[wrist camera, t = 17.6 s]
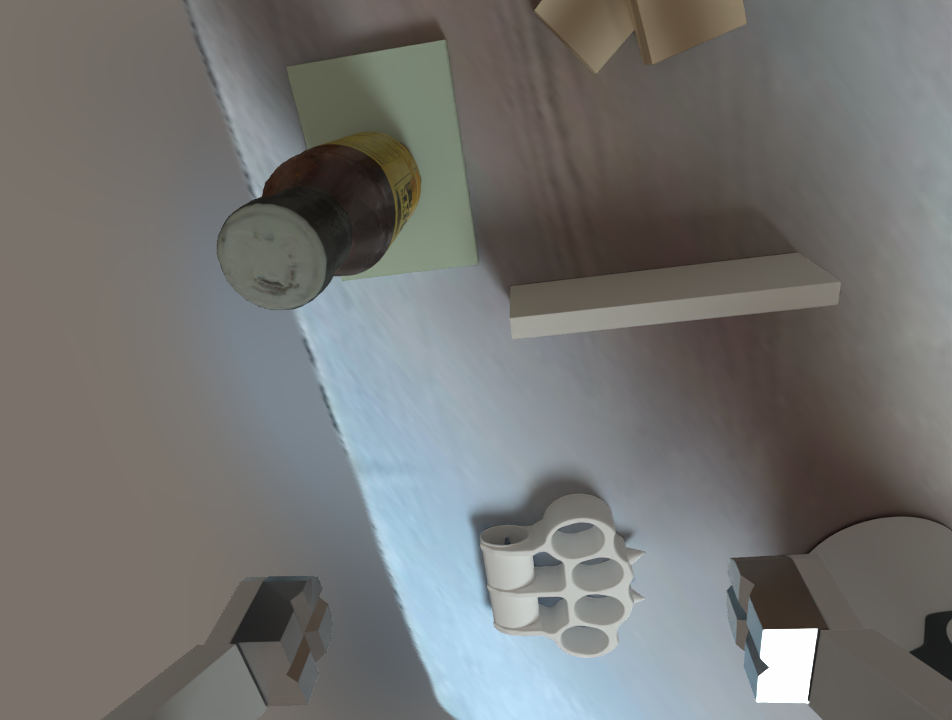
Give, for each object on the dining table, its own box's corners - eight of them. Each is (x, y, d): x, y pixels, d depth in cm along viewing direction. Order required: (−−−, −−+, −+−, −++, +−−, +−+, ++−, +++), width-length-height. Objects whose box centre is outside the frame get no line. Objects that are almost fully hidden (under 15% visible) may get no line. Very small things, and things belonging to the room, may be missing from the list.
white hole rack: (476, 496, 52) (642, 486, 51) (499, 631, 60) (642, 626, 59) (474, 522, 49) (650, 513, 48) (497, 660, 57) (649, 657, 56)
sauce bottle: (386, 243, 40) (287, 382, 23) (313, 181, 39) (145, 278, 21) (447, 171, 38) (388, 265, 20) (372, 101, 36) (237, 137, 19)
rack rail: (795, 272, 41) (838, 304, 35) (512, 305, 43) (512, 339, 38) (797, 252, 40) (841, 281, 35) (510, 286, 42) (509, 318, 37)
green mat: (479, 259, 42) (478, 264, 41) (345, 276, 43) (342, 280, 42) (446, 40, 35) (444, 39, 34) (291, 66, 37) (285, 66, 36)
